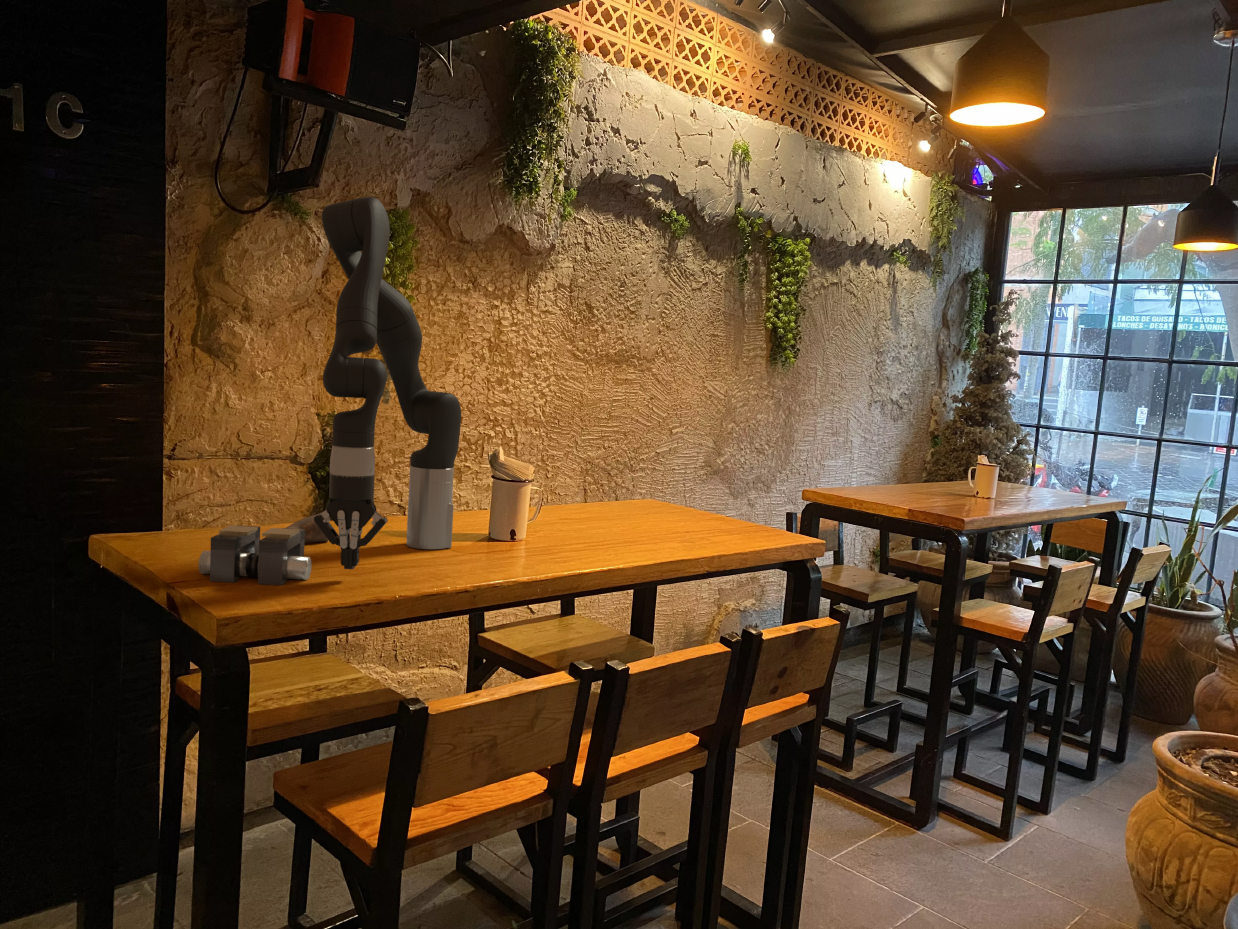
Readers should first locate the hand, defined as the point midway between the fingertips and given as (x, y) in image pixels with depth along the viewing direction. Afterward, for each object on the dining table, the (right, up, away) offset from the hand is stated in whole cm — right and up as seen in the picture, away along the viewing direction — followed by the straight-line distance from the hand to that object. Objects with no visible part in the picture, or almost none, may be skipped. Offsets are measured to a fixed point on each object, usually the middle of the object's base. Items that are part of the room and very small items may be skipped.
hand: (349, 568), depth 156 cm
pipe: (-17, +1, +25) cm, 30 cm away
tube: (-16, -1, -1) cm, 16 cm away
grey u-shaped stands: (-16, -1, -1) cm, 16 cm away
